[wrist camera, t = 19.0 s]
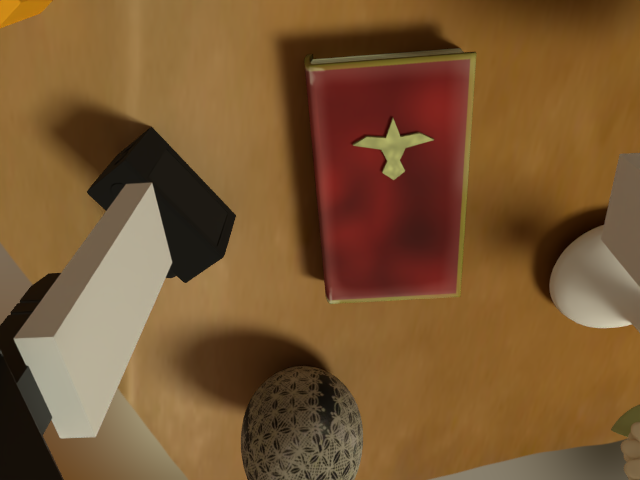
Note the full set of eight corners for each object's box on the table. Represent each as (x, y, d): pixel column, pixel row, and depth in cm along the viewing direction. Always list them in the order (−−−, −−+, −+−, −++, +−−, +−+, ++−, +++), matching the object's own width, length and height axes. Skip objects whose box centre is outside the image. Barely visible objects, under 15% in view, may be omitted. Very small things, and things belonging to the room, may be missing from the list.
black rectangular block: (105, 162, 47) (73, 200, 41) (150, 125, 45) (123, 159, 39) (192, 246, 51) (173, 291, 45) (236, 215, 49) (223, 258, 43)
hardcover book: (325, 278, 53) (325, 306, 49) (305, 53, 42) (303, 67, 38) (451, 271, 52) (460, 298, 49) (464, 40, 41) (477, 53, 38)
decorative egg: (234, 399, 61) (209, 530, 48) (276, 324, 55) (260, 451, 42) (330, 431, 63) (330, 564, 50) (379, 362, 58) (393, 493, 45)
